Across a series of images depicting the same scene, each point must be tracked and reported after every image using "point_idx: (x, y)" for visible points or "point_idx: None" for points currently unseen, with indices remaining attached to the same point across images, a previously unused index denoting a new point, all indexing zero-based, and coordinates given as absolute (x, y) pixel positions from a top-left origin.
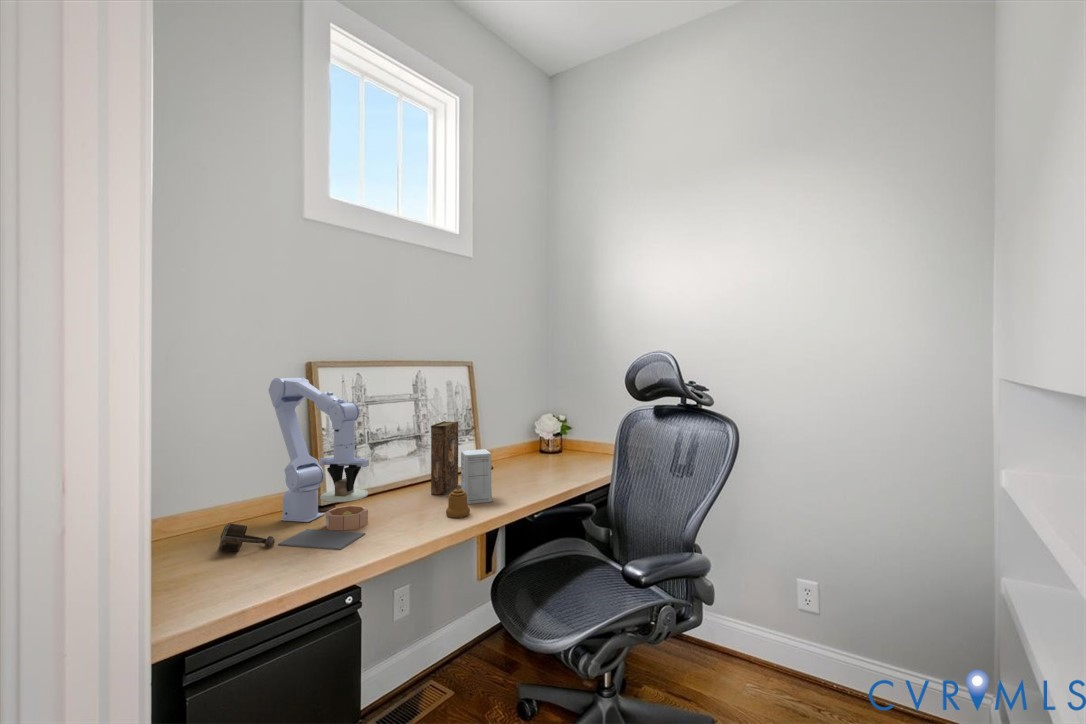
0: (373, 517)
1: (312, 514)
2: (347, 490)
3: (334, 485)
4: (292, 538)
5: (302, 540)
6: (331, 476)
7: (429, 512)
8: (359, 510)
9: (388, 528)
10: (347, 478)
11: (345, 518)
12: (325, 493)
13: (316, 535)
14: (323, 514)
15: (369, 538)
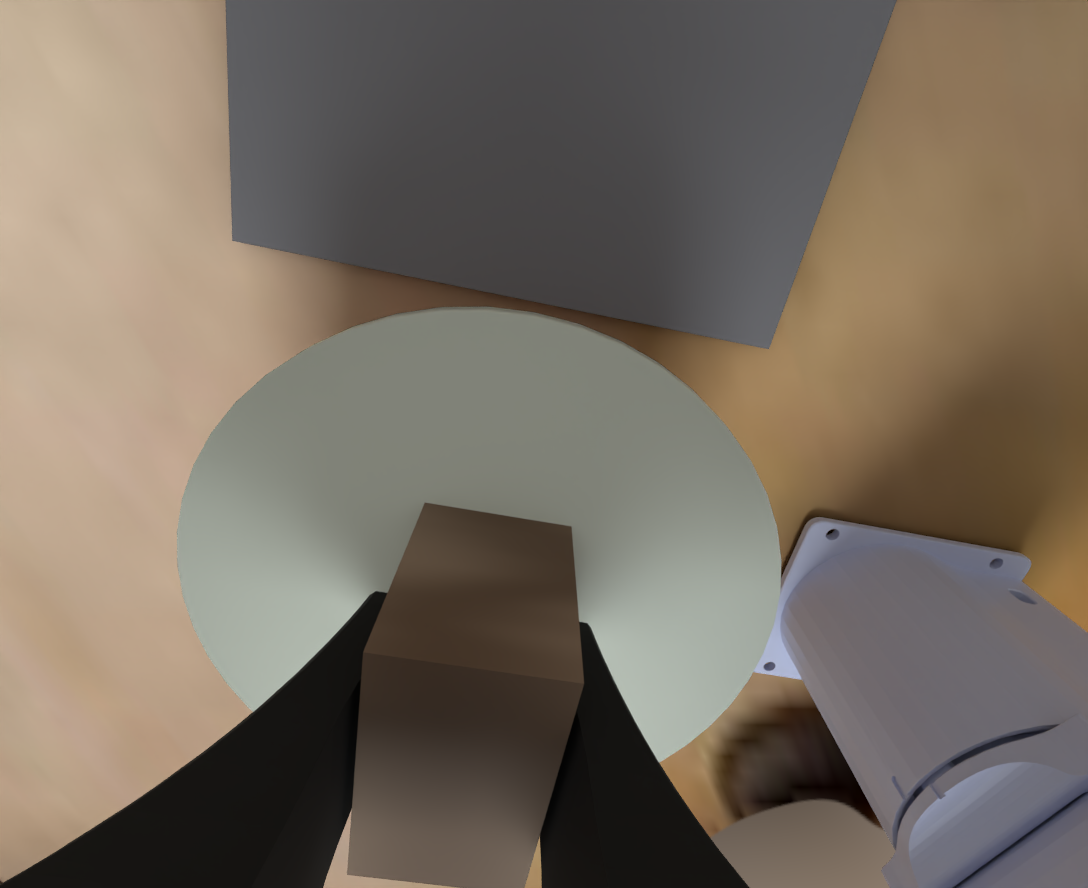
0: None
1: (813, 596)
2: None
3: (614, 681)
4: (829, 76)
5: (717, 11)
6: (700, 835)
7: (57, 701)
8: None
9: (136, 389)
10: (281, 754)
11: None
12: (742, 638)
13: (634, 169)
14: None
15: (143, 127)
